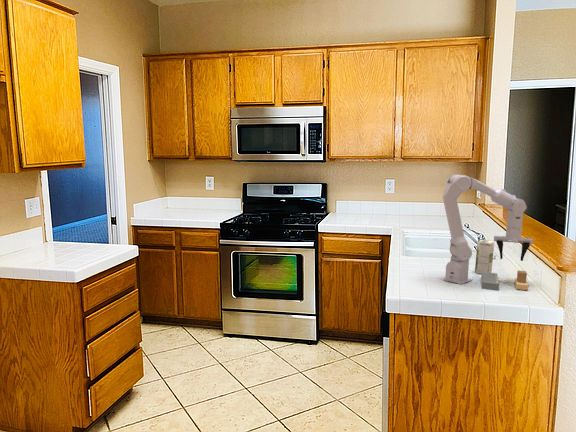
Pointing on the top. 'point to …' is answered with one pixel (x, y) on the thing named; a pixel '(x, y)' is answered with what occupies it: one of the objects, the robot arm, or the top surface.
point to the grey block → (490, 281)
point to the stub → (521, 280)
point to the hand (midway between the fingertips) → (511, 259)
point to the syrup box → (484, 256)
